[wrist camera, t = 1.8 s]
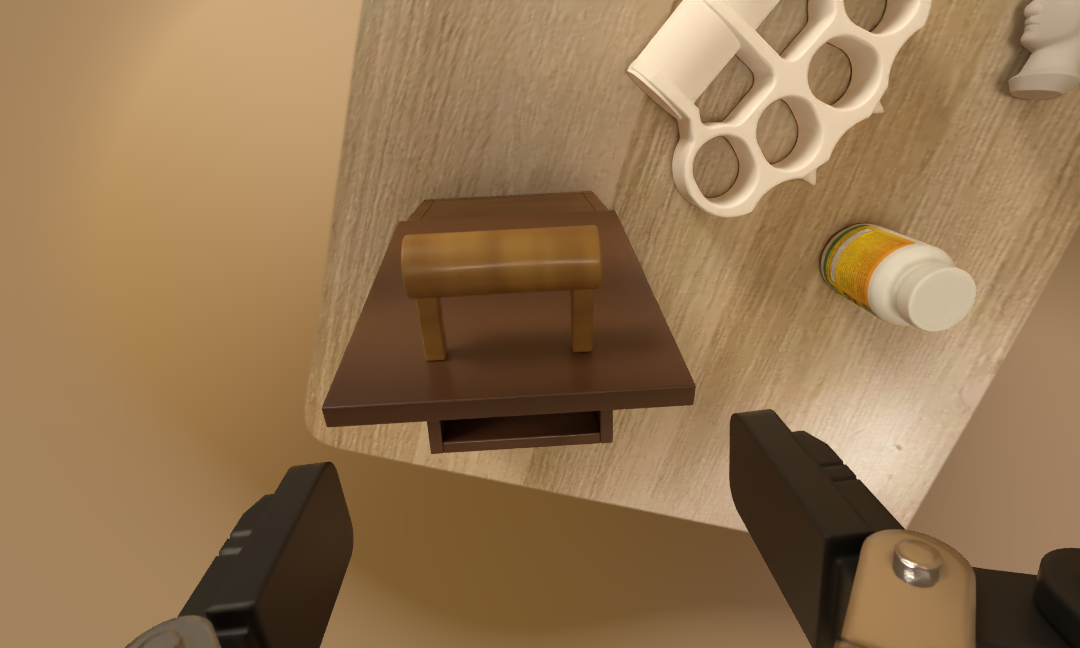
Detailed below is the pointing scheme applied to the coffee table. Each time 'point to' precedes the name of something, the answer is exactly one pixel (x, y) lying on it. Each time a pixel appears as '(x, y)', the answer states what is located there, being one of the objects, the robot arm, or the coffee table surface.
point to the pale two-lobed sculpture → (1049, 50)
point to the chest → (524, 427)
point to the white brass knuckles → (766, 85)
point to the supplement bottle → (898, 278)
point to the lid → (507, 325)
